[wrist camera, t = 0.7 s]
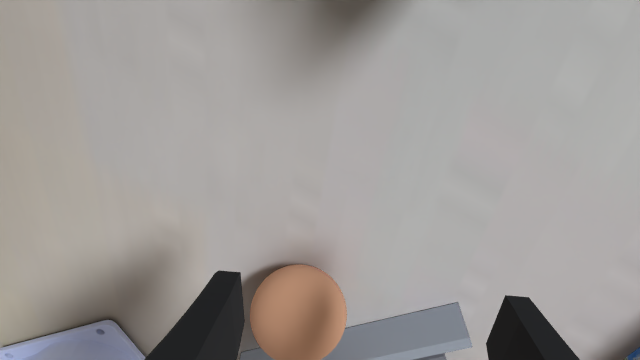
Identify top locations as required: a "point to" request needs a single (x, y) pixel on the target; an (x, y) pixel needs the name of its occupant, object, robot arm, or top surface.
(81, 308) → the top surface
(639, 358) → the stack of blocks
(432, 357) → the tray
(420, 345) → the low wall
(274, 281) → the ball
